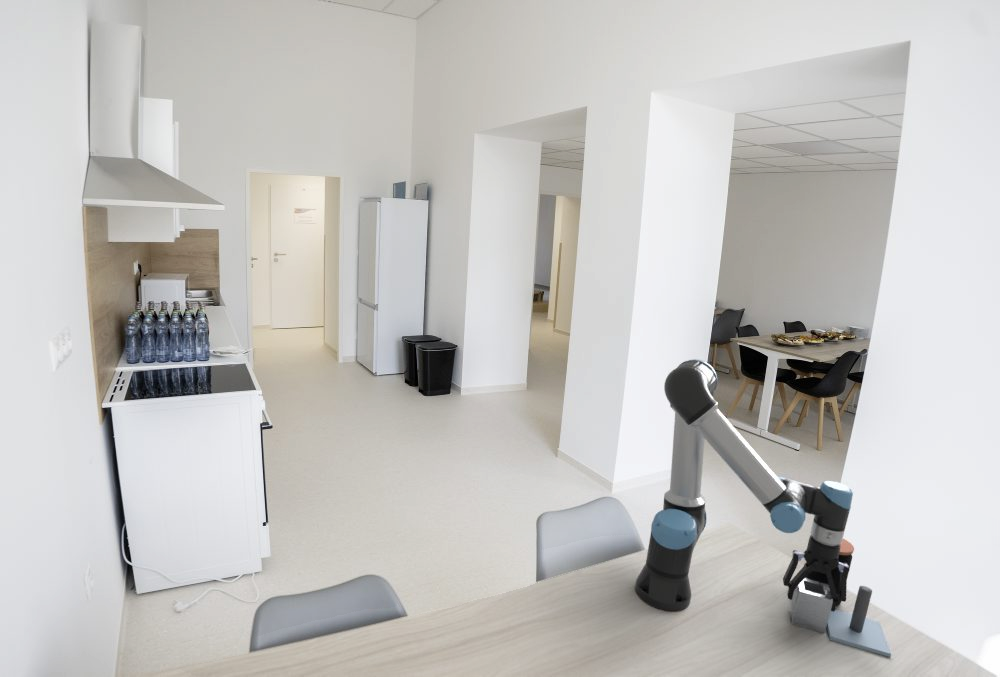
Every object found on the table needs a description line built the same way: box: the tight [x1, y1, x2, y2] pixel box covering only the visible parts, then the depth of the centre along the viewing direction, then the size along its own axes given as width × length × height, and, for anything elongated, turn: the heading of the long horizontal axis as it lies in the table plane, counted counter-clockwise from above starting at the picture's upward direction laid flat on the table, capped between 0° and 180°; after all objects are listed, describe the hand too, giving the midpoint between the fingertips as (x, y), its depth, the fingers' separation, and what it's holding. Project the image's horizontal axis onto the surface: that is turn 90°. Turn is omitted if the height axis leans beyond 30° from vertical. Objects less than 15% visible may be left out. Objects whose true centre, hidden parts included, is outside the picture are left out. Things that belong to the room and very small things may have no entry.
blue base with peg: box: [826, 585, 892, 658], centre depth 166 cm, size 14×14×13 cm
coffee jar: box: [805, 538, 855, 608], centre depth 180 cm, size 11×11×18 cm
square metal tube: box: [789, 578, 833, 635], centre depth 169 cm, size 8×8×10 cm
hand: (807, 614), depth 170 cm, fingers closed on square metal tube, 8 cm apart
